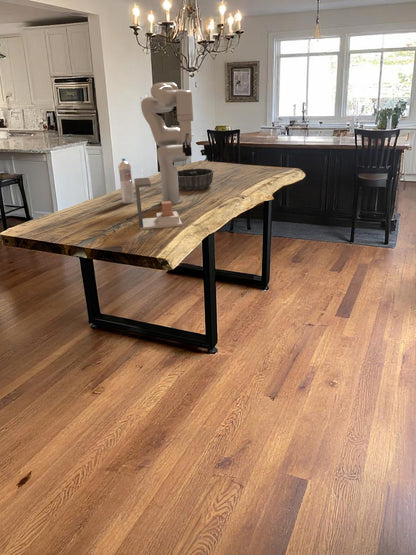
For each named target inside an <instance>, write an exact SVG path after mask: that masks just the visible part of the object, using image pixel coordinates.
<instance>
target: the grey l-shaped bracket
mask: <svg viewBox="0 0 416 555" xmlns="http://www.w3.org/2000/svg"><path fill="white" fill-rule="evenodd" d="M133 182H134V188H135V189H134V190H135V199H136V207H137V210H136V211H137V216H138V217H137V218H138V224H139V225H140V226H139V225H138V226H139V229H140V228H142V227H143V220H142V219H143V211H142V202H141V193H140V192H141V191H140V188H146V187H151V186H152V184H151V181H150V177H138V178H137V177H136V178H133Z"/></svg>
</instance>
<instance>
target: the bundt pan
mask: <svg viewBox="0 0 416 555" xmlns="http://www.w3.org/2000/svg"><path fill="white" fill-rule="evenodd" d="M177 171H178V184H179V190H184V191H193V190H194V191H197V190H205V189H207V188H209V187H210V186H211V185H212V183H213V178H214V172H215V170H213V169H211V168H189V169H188V168H187V169H182V170H177Z"/></svg>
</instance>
